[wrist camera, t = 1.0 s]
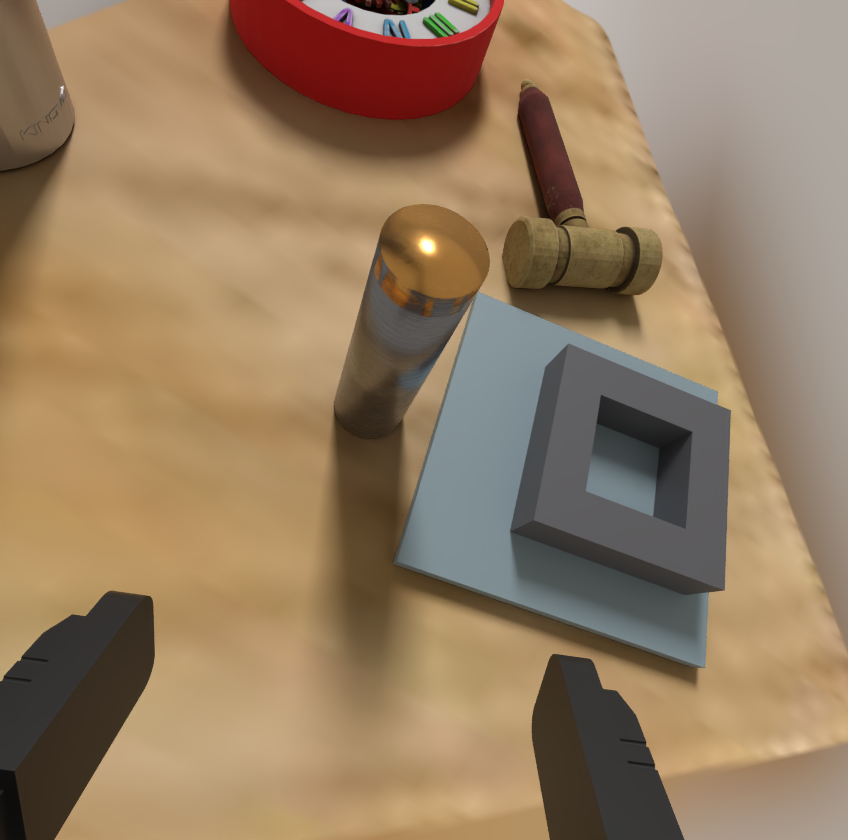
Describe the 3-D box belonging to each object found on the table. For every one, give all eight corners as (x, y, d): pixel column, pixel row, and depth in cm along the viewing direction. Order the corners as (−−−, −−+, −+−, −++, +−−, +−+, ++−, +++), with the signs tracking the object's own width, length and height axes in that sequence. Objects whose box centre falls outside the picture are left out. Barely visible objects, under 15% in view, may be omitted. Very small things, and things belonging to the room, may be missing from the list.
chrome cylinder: (323, 424, 31) (363, 270, 18) (347, 365, 32) (399, 188, 20) (391, 449, 31) (475, 315, 19) (411, 390, 33) (500, 231, 20)
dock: (392, 564, 29) (410, 551, 25) (472, 300, 37) (495, 262, 33) (692, 667, 31) (748, 669, 27) (707, 397, 39) (752, 372, 35)
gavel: (479, 43, 42) (592, 65, 45) (460, 99, 46) (566, 116, 49) (537, 255, 34) (672, 266, 37) (508, 301, 38) (633, 308, 41)
